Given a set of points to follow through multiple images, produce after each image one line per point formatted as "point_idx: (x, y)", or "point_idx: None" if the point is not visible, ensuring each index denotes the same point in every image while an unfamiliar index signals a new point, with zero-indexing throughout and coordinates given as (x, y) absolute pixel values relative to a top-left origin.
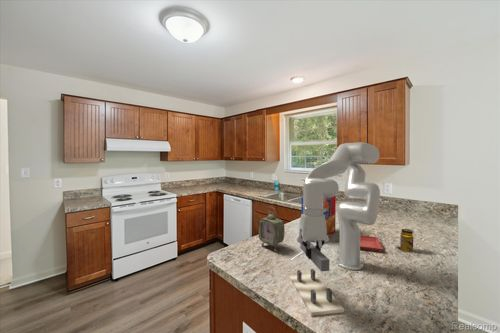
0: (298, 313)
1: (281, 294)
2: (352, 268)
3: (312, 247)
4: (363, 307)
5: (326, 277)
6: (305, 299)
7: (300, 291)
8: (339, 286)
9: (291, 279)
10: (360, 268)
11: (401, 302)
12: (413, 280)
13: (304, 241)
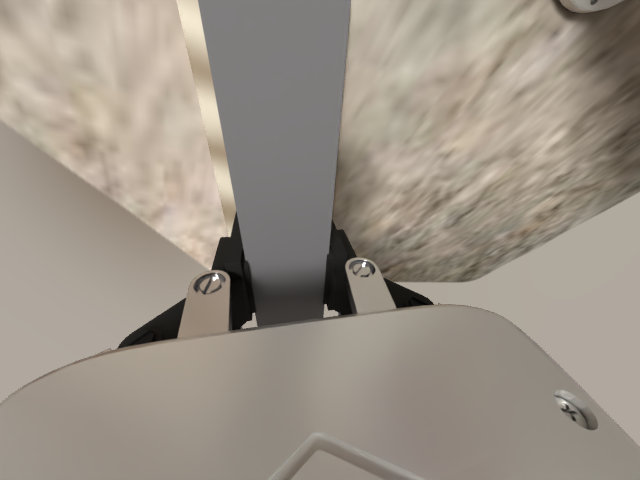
0: (197, 242)
1: (131, 147)
2: (567, 2)
3: (290, 272)
4: (383, 233)
5: (391, 45)
6: (228, 209)
7: (218, 164)
8: (394, 134)
9: (185, 35)
10: (599, 9)
11: (478, 225)
12: (624, 144)
13: (246, 61)
